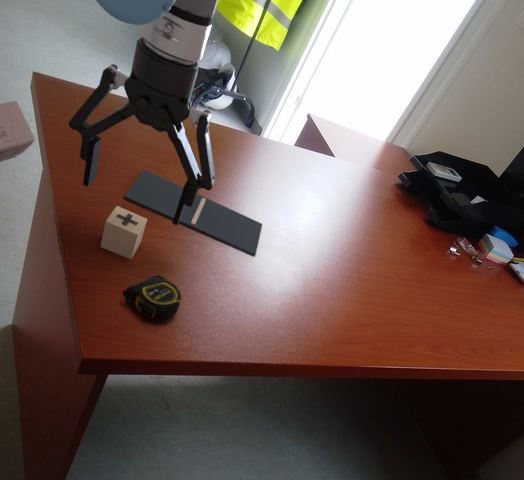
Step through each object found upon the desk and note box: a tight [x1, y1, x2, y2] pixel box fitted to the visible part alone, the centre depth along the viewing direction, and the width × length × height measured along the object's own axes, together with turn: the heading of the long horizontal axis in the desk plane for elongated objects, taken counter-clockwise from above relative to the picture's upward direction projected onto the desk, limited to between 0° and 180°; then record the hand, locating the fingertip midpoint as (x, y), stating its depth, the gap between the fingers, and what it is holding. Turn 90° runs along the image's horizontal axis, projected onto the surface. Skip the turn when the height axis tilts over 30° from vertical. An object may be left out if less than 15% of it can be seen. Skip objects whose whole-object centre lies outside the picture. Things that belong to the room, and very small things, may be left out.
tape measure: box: [122, 274, 182, 321], centre depth 66 cm, size 7×7×4 cm
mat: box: [123, 169, 263, 257], centre depth 89 cm, size 26×12×1 cm, turn 85°
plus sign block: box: [99, 205, 148, 260], centre depth 72 cm, size 5×5×5 cm
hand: (133, 201), depth 68 cm, fingers open, 13 cm apart
